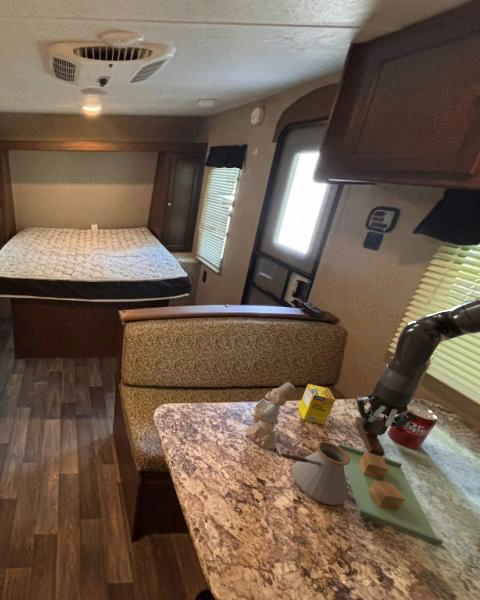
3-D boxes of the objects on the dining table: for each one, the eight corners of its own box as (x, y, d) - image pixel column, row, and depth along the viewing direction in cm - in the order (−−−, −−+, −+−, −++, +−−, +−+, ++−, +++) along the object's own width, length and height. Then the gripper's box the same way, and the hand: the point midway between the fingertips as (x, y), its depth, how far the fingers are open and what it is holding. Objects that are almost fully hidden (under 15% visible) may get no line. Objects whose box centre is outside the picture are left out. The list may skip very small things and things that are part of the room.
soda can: (416, 456, 91) (437, 424, 86) (383, 439, 96) (401, 409, 91) (420, 443, 95) (439, 413, 90) (388, 428, 100) (405, 399, 95)
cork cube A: (377, 468, 85) (383, 458, 84) (382, 480, 82) (389, 469, 80) (358, 462, 87) (364, 452, 85) (363, 474, 83) (369, 463, 82)
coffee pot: (315, 465, 86) (334, 424, 80) (355, 507, 76) (381, 463, 70) (246, 476, 82) (261, 434, 76) (278, 521, 72) (299, 477, 66)
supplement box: (323, 427, 100) (336, 399, 95) (302, 421, 101) (313, 395, 97) (317, 414, 105) (329, 388, 100) (296, 409, 106) (307, 383, 102)
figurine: (280, 438, 95) (302, 384, 87) (273, 454, 89) (295, 399, 81) (249, 422, 100) (266, 370, 92) (240, 436, 95) (258, 383, 87)
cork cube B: (385, 494, 78) (393, 483, 77) (397, 510, 75) (405, 499, 73) (367, 491, 79) (374, 480, 77) (378, 506, 75) (385, 495, 74)
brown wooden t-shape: (365, 427, 100) (376, 404, 97) (380, 460, 89) (394, 437, 85) (353, 423, 101) (364, 401, 98) (367, 456, 90) (380, 433, 86)
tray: (397, 468, 87) (401, 463, 86) (438, 548, 68) (443, 542, 67) (336, 448, 92) (339, 443, 91) (358, 517, 74) (362, 511, 73)
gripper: (370, 384, 86) (346, 431, 93) (438, 401, 81) (407, 449, 88) (361, 369, 92) (339, 414, 99) (424, 384, 87) (396, 431, 94)
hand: (371, 431), depth 93 cm, fingers closed on brown wooden t-shape, 2 cm apart
